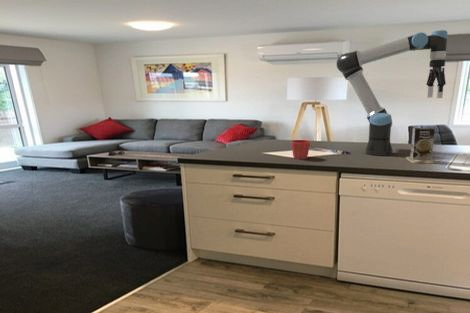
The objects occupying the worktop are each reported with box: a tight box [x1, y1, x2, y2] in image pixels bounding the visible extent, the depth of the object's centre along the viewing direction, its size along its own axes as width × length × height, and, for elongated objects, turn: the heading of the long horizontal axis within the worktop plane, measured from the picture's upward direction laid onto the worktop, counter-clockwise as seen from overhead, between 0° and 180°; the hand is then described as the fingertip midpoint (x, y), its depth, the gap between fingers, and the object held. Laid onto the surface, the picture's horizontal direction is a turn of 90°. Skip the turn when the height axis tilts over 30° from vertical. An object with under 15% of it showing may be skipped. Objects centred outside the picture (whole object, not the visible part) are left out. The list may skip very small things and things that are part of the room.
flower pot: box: [291, 139, 311, 160], centre depth 193 cm, size 11×11×10 cm
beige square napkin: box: [405, 156, 437, 164], centre depth 177 cm, size 11×11×1 cm
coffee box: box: [409, 127, 435, 160], centre depth 175 cm, size 9×6×16 cm
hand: (434, 97), depth 193 cm, fingers open, 13 cm apart
